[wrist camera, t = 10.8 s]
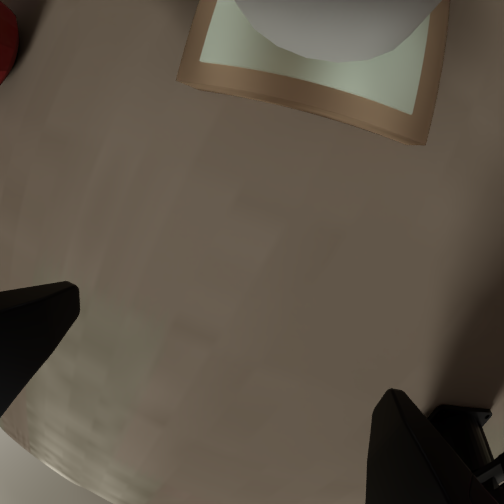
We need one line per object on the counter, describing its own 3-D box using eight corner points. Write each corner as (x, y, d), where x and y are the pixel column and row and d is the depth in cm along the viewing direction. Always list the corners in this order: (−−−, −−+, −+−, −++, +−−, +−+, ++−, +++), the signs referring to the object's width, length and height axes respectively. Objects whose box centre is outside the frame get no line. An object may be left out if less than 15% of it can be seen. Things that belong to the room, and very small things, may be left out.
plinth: (434, -20, 10) (453, -45, 7) (405, 144, 14) (428, 145, 11) (248, -64, 11) (235, -94, 8) (199, 90, 15) (172, 79, 12)
